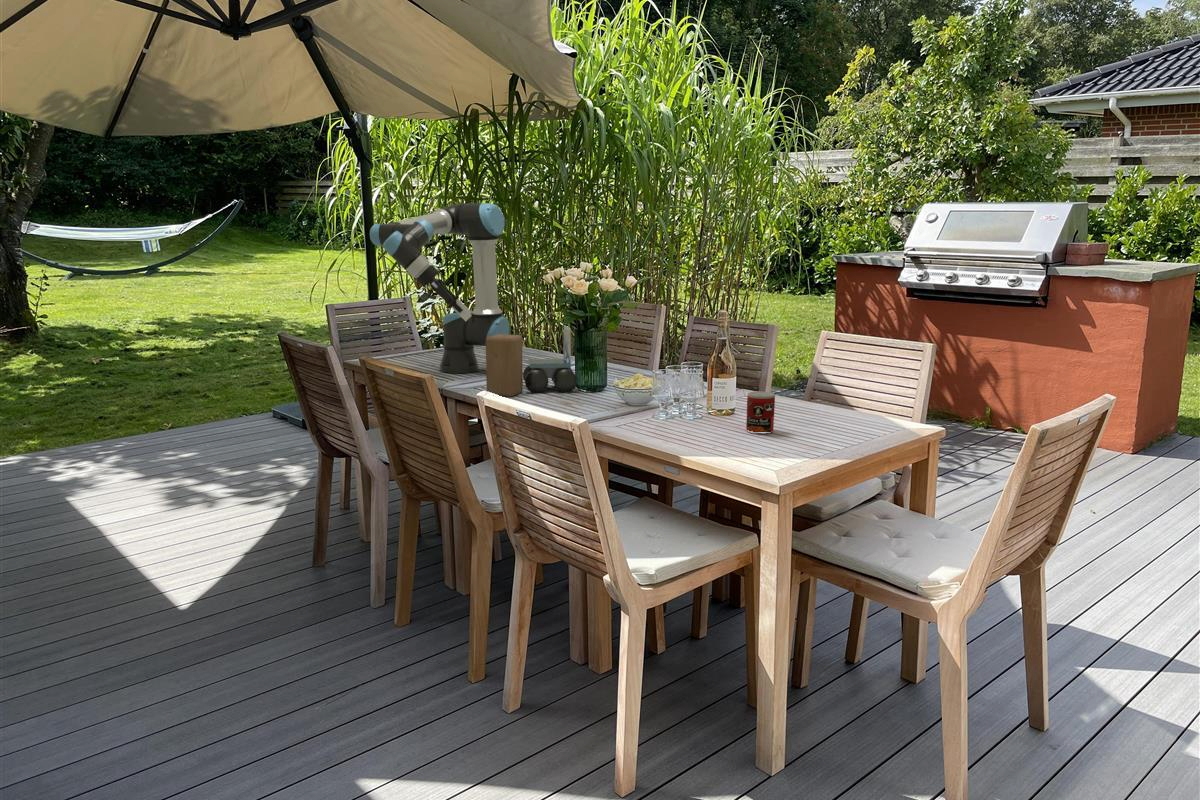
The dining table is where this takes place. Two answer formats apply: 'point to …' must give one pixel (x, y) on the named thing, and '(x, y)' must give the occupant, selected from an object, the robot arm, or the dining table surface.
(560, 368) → the trolley
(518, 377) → the wooden block
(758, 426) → the canned food
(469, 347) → the robot arm
